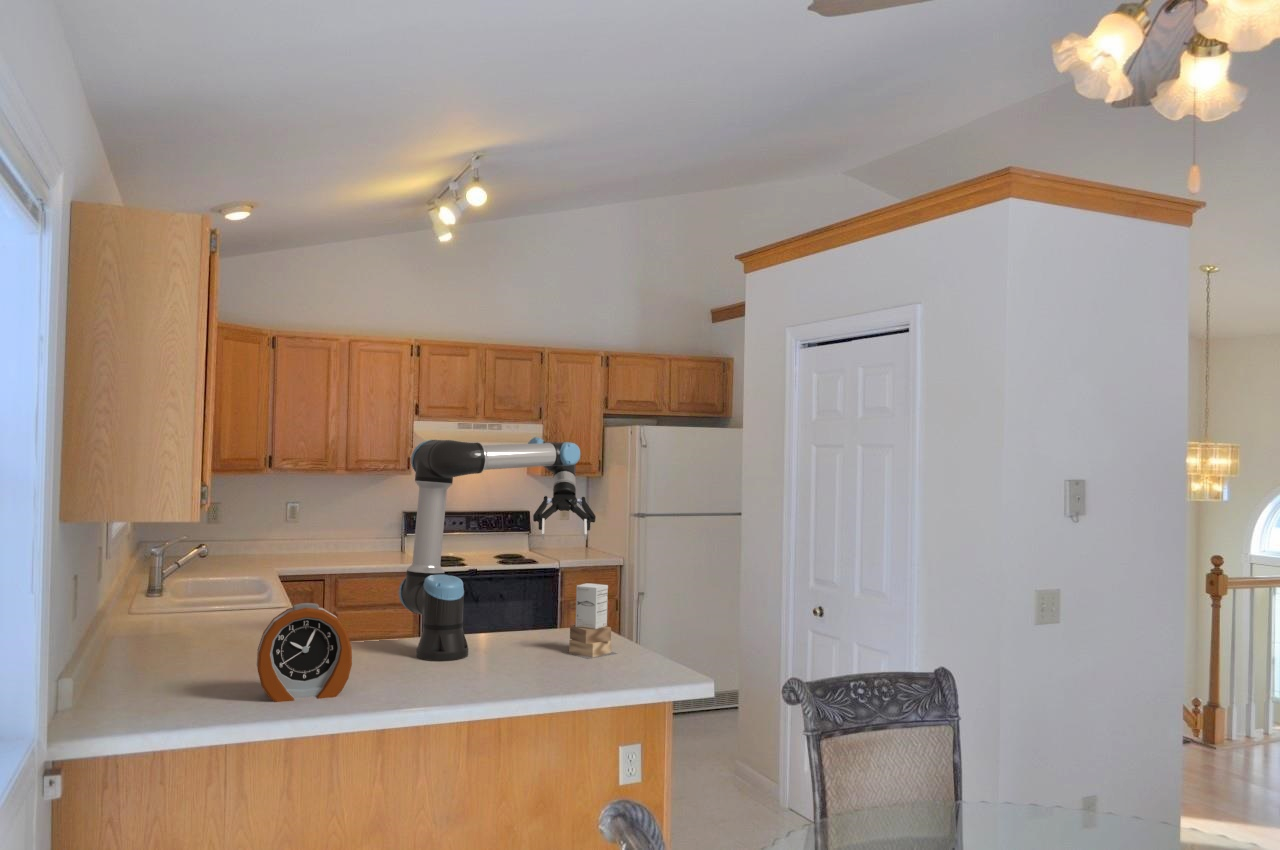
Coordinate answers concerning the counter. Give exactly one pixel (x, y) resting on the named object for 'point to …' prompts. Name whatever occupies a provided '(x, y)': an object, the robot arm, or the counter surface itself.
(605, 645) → the bottom block
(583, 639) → the top block
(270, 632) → the alarm clock
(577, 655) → the slate mat
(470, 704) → the counter surface
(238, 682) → the counter surface
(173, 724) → the counter surface
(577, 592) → the supplement box
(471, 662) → the counter surface
